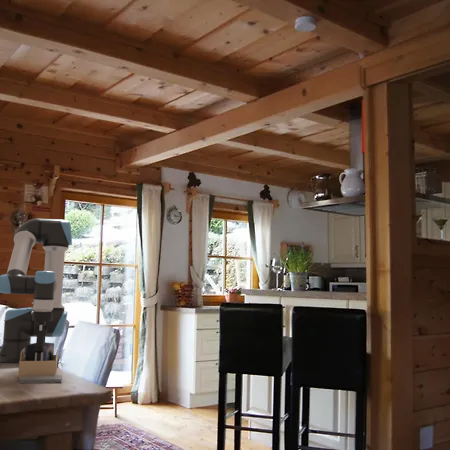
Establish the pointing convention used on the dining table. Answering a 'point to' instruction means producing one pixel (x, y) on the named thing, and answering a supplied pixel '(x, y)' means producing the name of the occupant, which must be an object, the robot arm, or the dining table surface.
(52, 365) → the carton
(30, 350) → the small box
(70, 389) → the dining table surface
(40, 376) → the board
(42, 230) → the robot arm
